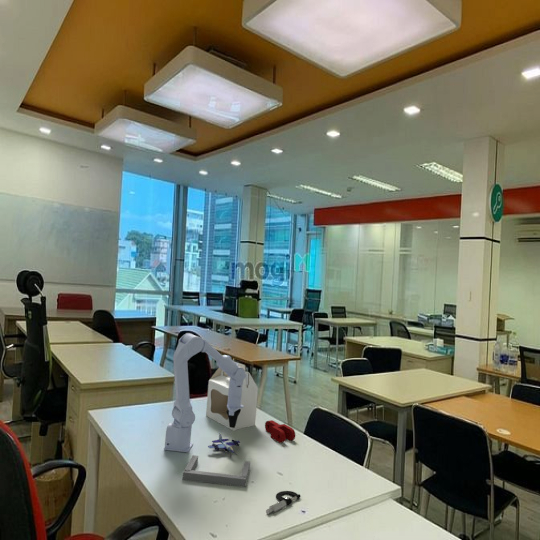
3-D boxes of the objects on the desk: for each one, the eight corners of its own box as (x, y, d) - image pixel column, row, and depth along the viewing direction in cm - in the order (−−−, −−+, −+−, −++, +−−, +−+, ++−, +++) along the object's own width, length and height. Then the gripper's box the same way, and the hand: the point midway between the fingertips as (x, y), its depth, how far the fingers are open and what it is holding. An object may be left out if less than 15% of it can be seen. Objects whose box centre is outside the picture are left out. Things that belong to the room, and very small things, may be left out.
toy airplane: (237, 463, 148) (238, 453, 148) (202, 456, 151) (203, 446, 151) (248, 449, 160) (249, 440, 160) (216, 443, 164) (217, 434, 164)
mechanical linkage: (294, 441, 172) (295, 430, 172) (281, 444, 168) (282, 432, 168) (272, 428, 185) (273, 418, 185) (260, 431, 181) (261, 420, 181)
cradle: (182, 479, 132) (182, 472, 132) (192, 462, 145) (192, 455, 145) (245, 487, 131) (245, 479, 131) (249, 468, 144) (250, 461, 144)
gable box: (205, 415, 194) (210, 358, 195) (227, 411, 203) (231, 356, 204) (233, 430, 178) (238, 367, 179) (255, 425, 187) (260, 365, 188)
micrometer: (286, 490, 132) (286, 482, 132) (302, 500, 127) (303, 492, 127) (252, 506, 121) (253, 497, 121) (269, 517, 116) (270, 508, 116)
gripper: (242, 400, 162) (239, 434, 162) (246, 390, 176) (243, 421, 176) (224, 399, 162) (222, 432, 162) (230, 389, 177) (228, 420, 177)
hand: (232, 427), depth 169 cm, fingers closed
